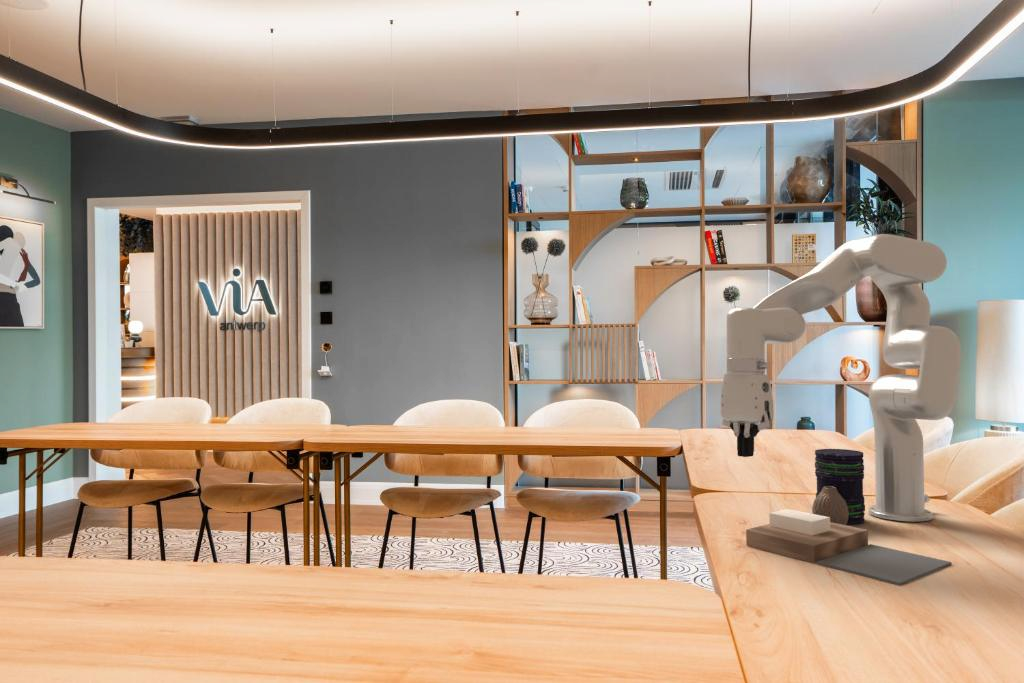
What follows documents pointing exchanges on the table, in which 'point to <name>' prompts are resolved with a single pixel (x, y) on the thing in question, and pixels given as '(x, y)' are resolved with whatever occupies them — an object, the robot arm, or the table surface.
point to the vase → (831, 505)
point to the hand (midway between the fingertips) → (745, 455)
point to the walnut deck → (807, 541)
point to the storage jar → (843, 478)
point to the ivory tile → (799, 521)
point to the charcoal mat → (885, 564)
